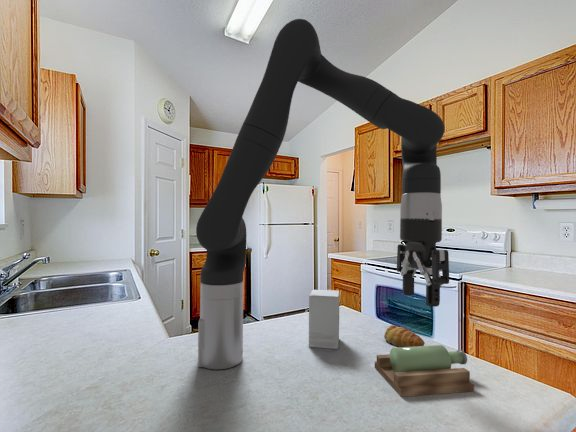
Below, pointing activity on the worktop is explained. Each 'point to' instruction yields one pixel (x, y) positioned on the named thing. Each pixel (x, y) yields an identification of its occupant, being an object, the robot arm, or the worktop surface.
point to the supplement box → (324, 319)
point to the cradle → (424, 379)
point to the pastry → (402, 337)
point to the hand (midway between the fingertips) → (419, 300)
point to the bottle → (424, 358)
